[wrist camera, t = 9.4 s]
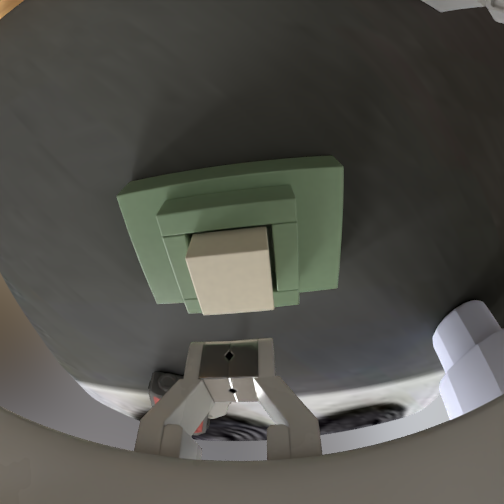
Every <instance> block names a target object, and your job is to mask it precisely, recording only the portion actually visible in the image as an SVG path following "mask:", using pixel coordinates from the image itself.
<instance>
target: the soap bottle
mask: <svg viewBox="0 0 504 504" xmlns="http://www.w3.org/2000/svg"><path fill="white" fill-rule="evenodd" d="M433 346H434V349H435V351H436V353H437V355H438V357H439V359H440V361H441V364H442V366H443V368H444V370H445V373H446V374H445V375H444V377H443V378H442V379H441V381H440V387H439V391H440V394H441V397H442V399H443V402H444V404H445V407H446V410H447V413H448V415H449V419H450V420H451V419H454V418H456V417H458V416H461V415H463V414H465V413H467V412H470V411H472V410H474V409H476V408H478V407H480V406H482V405H484V404H486V403H488V402H490V401H492V400H494V399H495V398H497V397H499V396H501V395H503V394H504V329H501V328H500V326H499V324H498V323H497V321H496V320H495V318H494V317H493V315H492V314H491V312H490V311H489V309H488V308H487V306H486V305H485V303H484V302H482V301H478V300H472V301H469V302H466V303H463V304H462V305H460V306H458V307H457V308H455V309H454V310H453V311H451V312H450V313H449V314H448V315H447V316H446V317H445V318H444V319H443V320H442V321H441V323H440V324H439V325H438V326H437V329H436V331H435V333H434V335H433Z"/></svg>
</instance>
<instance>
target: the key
mask: <svg viewBox="0 0 504 504" xmlns="http://www.w3.org/2000/svg"><path fill="white" fill-rule="evenodd" d="M185 259H186V262H187V266H188V269H189V272H190V276H191V279H192V282H193V285H194V288H195V291H196V295H197V298H198V301H199V304H200V307H201V310H202V313H203V315H215V314H229V313H242V312H254V311H265V310H274V299H273V288H272V277H271V267H270V257H269V247H268V238H267V228H266V226H261V227H252V228H243V229H234V230H225V231H216V232H207V233H199V234H193V235H192V238H191V241H190V244H189V248H188V251H187V254H186V257H185Z"/></svg>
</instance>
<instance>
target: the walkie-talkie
mask: <svg viewBox="0 0 504 504" xmlns="http://www.w3.org/2000/svg"><path fill="white" fill-rule="evenodd" d="M183 378H184V376H181V375H175V374H171V373H163V372H154V373H153V374H152V378H151V381H150V383H149V387H148V389H149V391H148V392H149V396H150V400H151V404H152V407H153V406H154V405H155V404H156V403H157V402H158V401H159V400H160V399H161V398H162V397H163V396H164V395H165V394H166V393H167V392H168V391H169V390H170V389H171V388H172V386H173V385H174V384H175V383H176V382H177V381H178V380H179V379H183ZM229 404H231V402H220V403H215V404H214V406H213V407H212V409H211V410H210V411H209V413H208V414H207V416H206V417H205V418H204V420H203V421H202V422H201V424H200V425H199V427H198V428H197V429H196V431H195V432H194V433H193V435H199V434H202V433H205V432H206V429H208V428H209V423H210V419H214V418H217V417H220V416H223V415H225V414H226V413H227V410H228V407H229Z"/></svg>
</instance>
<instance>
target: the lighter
mask: <svg viewBox="0 0 504 504" xmlns="http://www.w3.org/2000/svg"><path fill="white" fill-rule="evenodd" d="M421 1H423V2H425V3H426V4H428V5H430V6H431V7H433V8H435V9H436V10H438V11H439V12H445V11H451V10H458V9H465V8H473V7H484V6H486V7H487V8H488V10H489V12H490V14H491V15H492V17H493V19H494V20H495V21H497V22H500V23H503V24H504V0H421Z"/></svg>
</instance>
